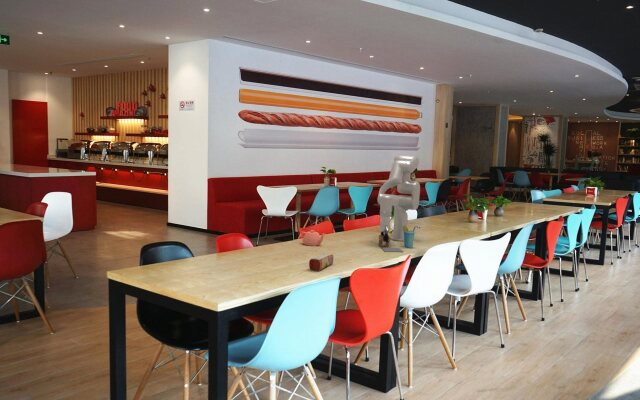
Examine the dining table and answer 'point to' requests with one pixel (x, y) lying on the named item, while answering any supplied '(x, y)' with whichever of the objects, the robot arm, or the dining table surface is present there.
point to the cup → (408, 236)
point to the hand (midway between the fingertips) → (384, 240)
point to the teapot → (312, 238)
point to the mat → (391, 249)
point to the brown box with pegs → (382, 241)
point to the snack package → (321, 261)
